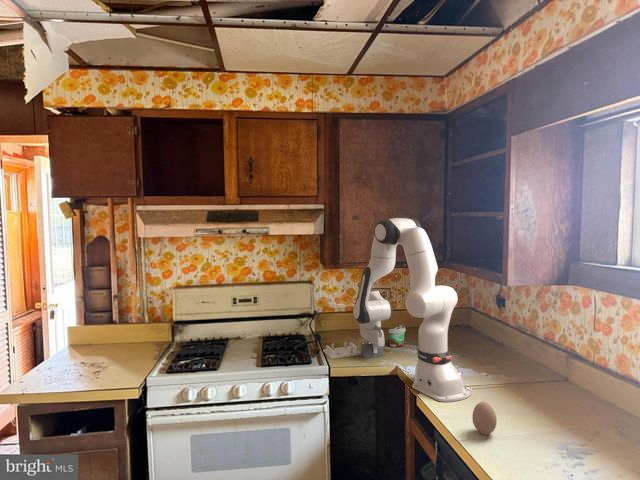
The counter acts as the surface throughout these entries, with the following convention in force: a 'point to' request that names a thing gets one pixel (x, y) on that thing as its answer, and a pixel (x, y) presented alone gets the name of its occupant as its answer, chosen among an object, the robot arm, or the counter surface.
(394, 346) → the food container
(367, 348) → the block
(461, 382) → the robot arm
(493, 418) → the egg
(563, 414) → the counter surface
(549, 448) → the counter surface
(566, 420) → the counter surface
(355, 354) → the pin tray
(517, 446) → the counter surface
